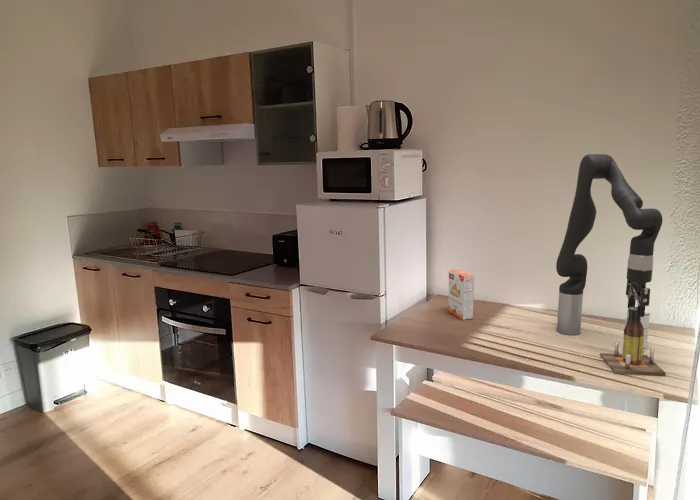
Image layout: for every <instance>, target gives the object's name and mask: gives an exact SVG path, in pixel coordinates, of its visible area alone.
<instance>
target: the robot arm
mask: <svg viewBox="0 0 700 500" xmlns="http://www.w3.org/2000/svg"><path fill="white" fill-rule="evenodd" d="M579 163H580V164H579V167H578V174H577V180H576V181H577V182H576V188H575V194H574V197H573V202H572V206H571V209H570V214H569V218H568V224H567V229H566V232H565V234H564V238H563V239H564V240H563V243H562V244H561V248H560V251H559V253H558V256H557V259H556V265H555V269H556V273H557V274H558V275H559V277H562V278H568V279H567V280H566V281H564V282H563V283H561V284H560V285H559V289H558V307H557V322H556V332H557V333H560V334H562V335H568V336H578V335H581V332H582V331H581V328H582V316H583V315H582V313H583V299H584V289H585V288H586V285H587V284H586V283H587V274H588V260H587V258H586V257H585V256H584V255H583V254H578V253H576V252H577V249H578V248H579V246H580V244H581V243H582V242H583V241H584V240H585V239H586V237H587V236H588V235H589V234H590V233H591V231H592V230H593V228H594V224H595V221H596V216H597V209H596V205H595V202H594V200H593V197H592V193H591V192H592V191H591V189H592V183H593V180H594V179H595V180H602V179H603V180H606V181H607V182H608V183H609V184H610V186H611V188H610V191H611V193H610V194H611V197H612V201H614V203H615V204H616V205H617V207H619V209H620V210H621V211H622V215H623V217H624V219H625V222H626V224H627V226H628V227H630V229H632V230H635V231H641V233H640V234H639V235H636V236H633V237H632V238H631V240H630V243H629V244H630V246H629V255H628V259H627V267H626V268H627V269H626V271H627V272H626V288H625V296H627V310H628V309H629V307H637V316H638V317H644V315H645V311H646V307H649V305H650V298H651V297H650V296H651V288H650V287H647V286H646V285H647V283H651V282H652V280H653V279H652V277H653V269H654V250H655V242H656V240H657V237H658V236H659V233H660V232H661V231H660V230H661V227H662V225H663V214H662V213H661V211H660V210H659V209H656V208H642V207H643V206H644V202H643V199H642V198H641V196H640V195H639V194H638V193H637V191H635V190H634V189H633V188H632V187H631V185H629V183H628V182H627V180H626V178H625V176H624V175H623V173H622V171H621V169H620V168H619V166H618V164H617V162H616V160H615V159H614V158H613V156H610V155H609V154H604V153H602V154H601V153H598V154H597V153H590V154H585V155H584V156H583V158H582V159H581V160H580V162H579ZM636 303H637V306H636Z"/></svg>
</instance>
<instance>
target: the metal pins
mask: <svg viewBox="0 0 700 500" xmlns="http://www.w3.org/2000/svg"><path fill="white" fill-rule="evenodd" d="M619 350H620V342H614V350H613V351H614V352H613V354H614V356H615V357H618V354H620V353H619ZM655 353H656V350H655V349H652V348H651V349H649V356H648V357H649V364H654V362H655V361H654V360H655ZM630 359H631V355H630V354H626V363H625V369H630Z"/></svg>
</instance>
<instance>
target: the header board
mask: <svg viewBox="0 0 700 500" xmlns="http://www.w3.org/2000/svg"><path fill="white" fill-rule="evenodd" d="M599 357H600V358H601V359H602V360H603V362H605V364H606V365H607V367H608V368H609V369H610V370H611V371H612V372H613V374H614V375H630V376H632V375H633V376H635V375H636V376H650V377H651V376H652V377H653V376H654V377H666V375H667V372H665V371H664V370H663V369H662V367H660V366H659V365H658V364H657V363H656V362H655V361H654V364H649V357H650V356H649V355H647V354H643V359H642V363H641V364H639V365H632V364H630V369H625V363H626V362H624V361H623V353H618V357H615V356H614V353H609V352H608V353H605V352H602V353H601V352H600V353H599Z"/></svg>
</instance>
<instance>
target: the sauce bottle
mask: <svg viewBox="0 0 700 500" xmlns="http://www.w3.org/2000/svg"><path fill="white" fill-rule="evenodd" d="M627 310H628V312H629V318H628V322H627V324H626V323H625V327H624V329H623V337H622V338H623V339H622V340H623V341H622V342H623V343H622V354H623V361H624V362H626V354H630V355H631V359H630V364H632V365H639V364H641V363H642V359H643V355H644V348H643V341H644V328H643V325H642V323H641V317H638V316H637V306H635V307H629V309H628V308H627Z"/></svg>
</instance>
